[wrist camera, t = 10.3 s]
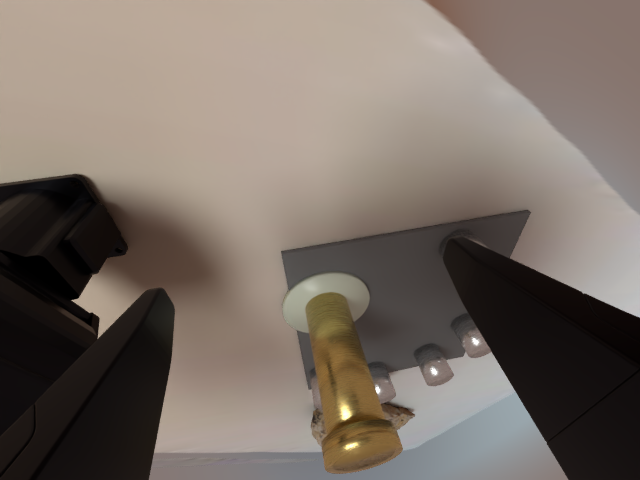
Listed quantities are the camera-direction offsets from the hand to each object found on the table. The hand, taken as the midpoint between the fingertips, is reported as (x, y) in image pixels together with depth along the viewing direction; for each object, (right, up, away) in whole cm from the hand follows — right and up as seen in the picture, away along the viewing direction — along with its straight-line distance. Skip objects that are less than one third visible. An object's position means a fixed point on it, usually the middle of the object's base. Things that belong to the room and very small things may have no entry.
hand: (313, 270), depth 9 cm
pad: (+1, -6, +21) cm, 22 cm away
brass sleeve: (+1, -6, +20) cm, 21 cm away
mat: (+9, -8, +26) cm, 28 cm away
